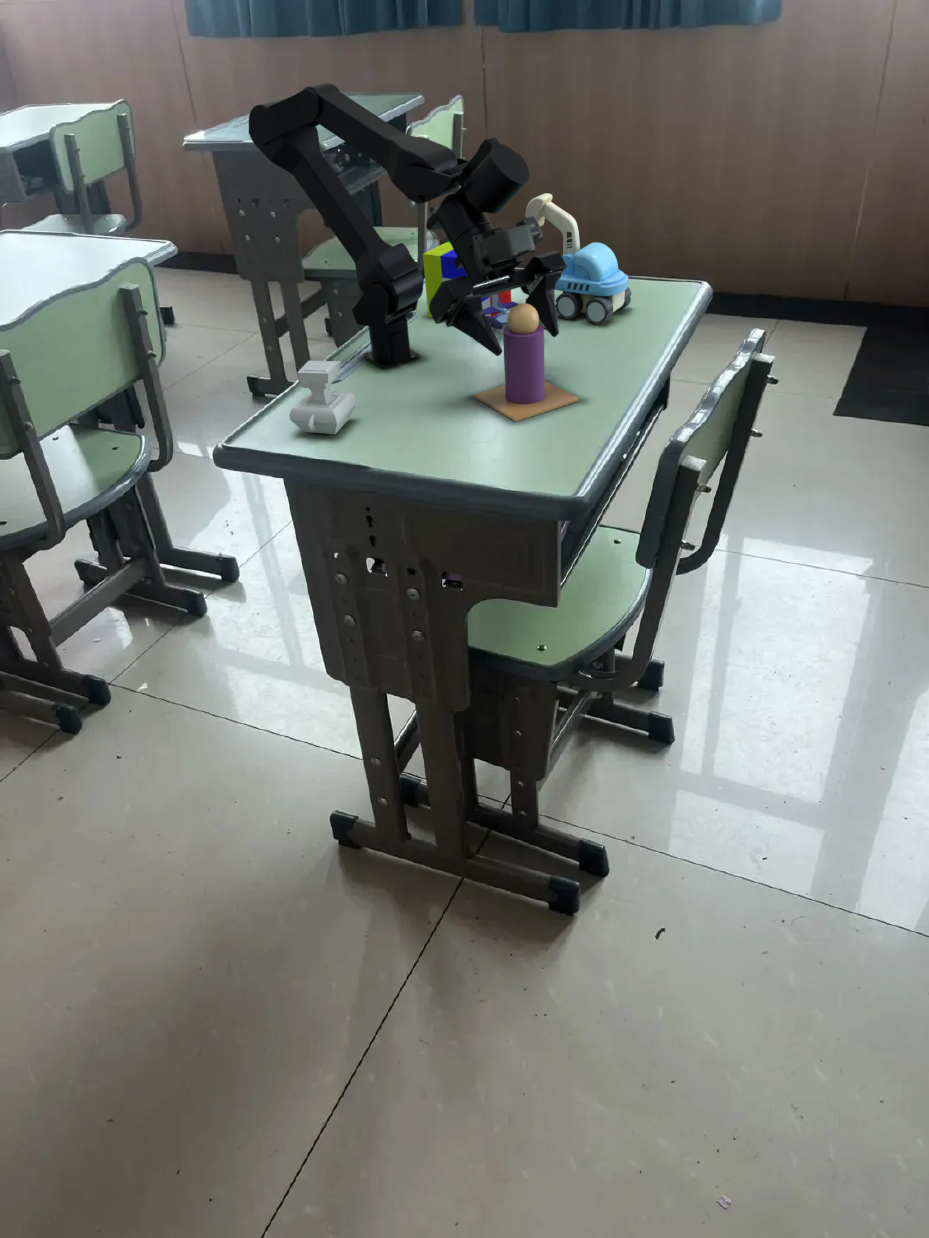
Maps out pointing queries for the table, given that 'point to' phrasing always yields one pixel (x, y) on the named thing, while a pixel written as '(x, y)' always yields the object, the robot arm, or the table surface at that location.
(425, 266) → the puzzle toy
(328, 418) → the stamp
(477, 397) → the cork coaster
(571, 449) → the table surface
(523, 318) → the peg doll toy
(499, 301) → the toy airplane
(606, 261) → the toy excavator
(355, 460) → the table surface
